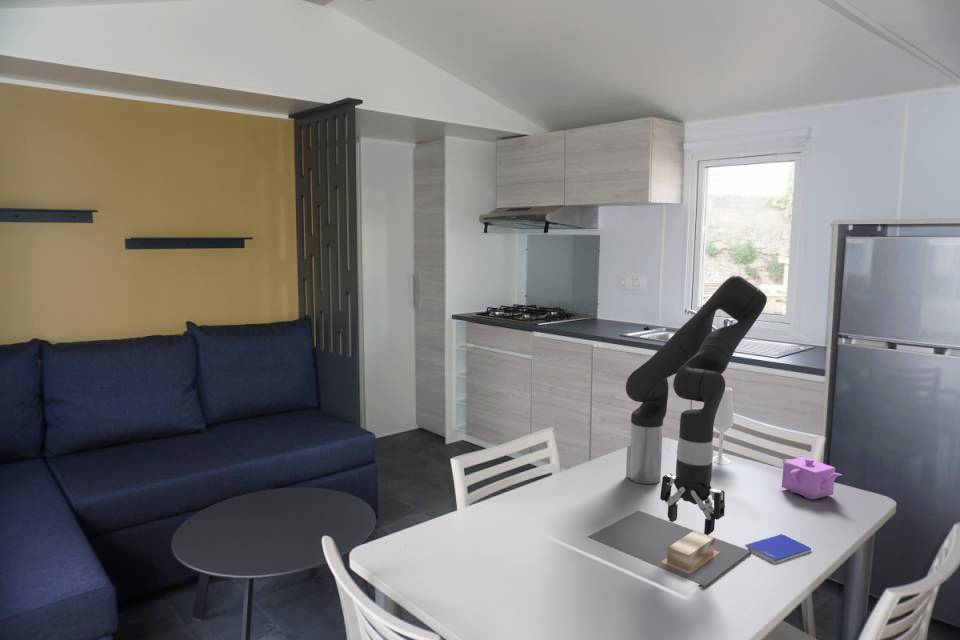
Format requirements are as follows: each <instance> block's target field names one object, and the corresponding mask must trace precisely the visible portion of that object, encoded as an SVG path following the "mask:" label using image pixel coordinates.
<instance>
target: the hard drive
mask: <svg viewBox="0 0 960 640" xmlns="http://www.w3.org/2000/svg"><path fill="white" fill-rule="evenodd" d="M744 546H745V547H746V548H747V550H750V551H751V553H754V554H755V553H756V554H755V555H757V556H760V557H761V558H763V559H765V560H767V561H769V562H770V561H771V562H770V563H772V562H773V564H774V563H776V564H779V563H781V562H780V561H782V562H784V561H783V560H785V561H787V560H786V559H788V560H790V559H789V558H791V559H793V557H794V558H797V557H800V556H802V554H803V555H805V553H806V554H809V553H811V552H812V548H811V547H809V546H807V545H806V544H804V543H802V542H800V541H797V540H796V539H793V538H791V537H789V536H787V535H785V534H783V533H780V534H777V535H774V536H770V537H767V538H764V539H760V540H757V541H754V542H750V543H747V544H745V545H744ZM808 552H809V553H808ZM799 555H800V556H799ZM796 556H797V557H796ZM778 562H779V563H778Z"/></svg>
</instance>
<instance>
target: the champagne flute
mask: <svg viewBox="0 0 960 640" xmlns="http://www.w3.org/2000/svg"><path fill="white" fill-rule="evenodd" d="M733 399H734V397H733V388H731V387H727V386H725V391H724V394H723V397H722V399H721V401H720V404H719V407H718V409H717V413H716V416H715V420H714V428H715V430H717V431H718V432H719V441H718V442H719V443H718V454H717V455H715V456H714V455H713V460H712V461H714V462H716V463H715V464H717V463H720V464H719V465H729V463H730V462H731V463H732V461H731V460H730V459H729V458H727V457H726V456H724V455H723V449H724V433H725V432H727V431H728V430H729V429H731V428H732V427H733V425H734V400H733ZM731 463H730V464H731Z"/></svg>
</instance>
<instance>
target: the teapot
mask: <svg viewBox="0 0 960 640" xmlns="http://www.w3.org/2000/svg"><path fill="white" fill-rule="evenodd" d="M781 476H782V477H781V488H783V489H786V490H788V491H789V492H790V493H792V494H798V495H801V496H803V497H804V498H805V499H807V500H814V501H815V500H817V499H818V500H819V499H821V498H824V497H827V496H828V497H829V496H832V495H834V487H835V480H836V478H837V477H839V476H843V474H841V473H839V472H836V467H834V466H832V465H828V464H826V463H823V462H820V461H817V460H814V459H813V458H810V457H808V458H807V457H804V456H802V457H801V456H800V457H796V458H792V459H788V458H785V459H782V475H781Z"/></svg>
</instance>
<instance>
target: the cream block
mask: <svg viewBox="0 0 960 640" xmlns="http://www.w3.org/2000/svg"><path fill="white" fill-rule="evenodd" d="M715 538H716V537H714V536H712V535H710V534H709V535H706V534H704V532H700V531H697V530H694V531H693V532H691V533H689V534H688V535H686V536H685V537H683V538H682V539H680V540H678V541H677V542H675V543H674V544H672V545H670V546H669V547H668V553H667V562H668V563H670V564H673V565H675V566H678V567H680V568H683V569H685V570H689V569H691V568H692V567H694V566H695V565H696V564H698V563H699V562H701V561H702V560H703V559H705V558H706V557H708V556H709V555H711V554H712V553H713V552H714V543H715Z"/></svg>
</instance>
